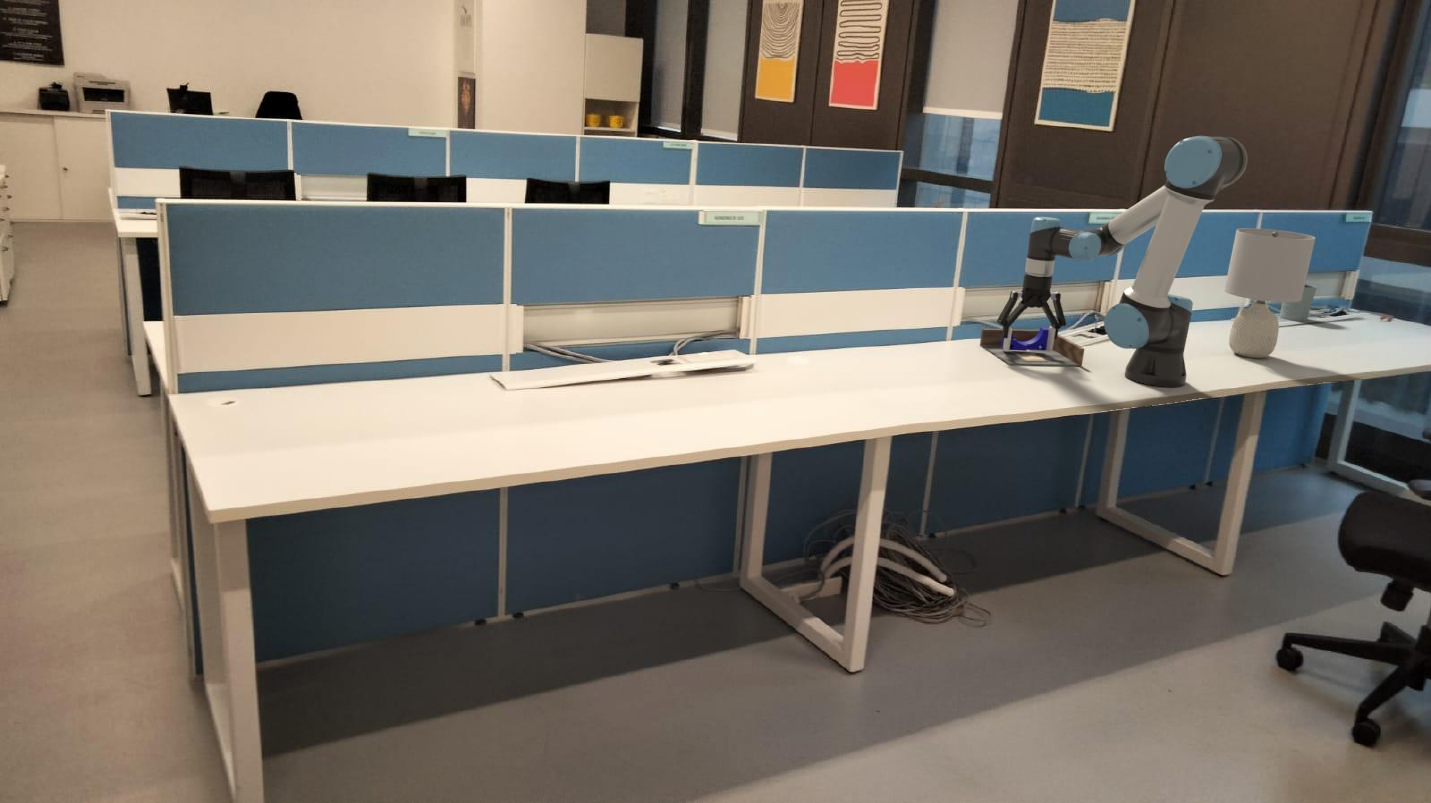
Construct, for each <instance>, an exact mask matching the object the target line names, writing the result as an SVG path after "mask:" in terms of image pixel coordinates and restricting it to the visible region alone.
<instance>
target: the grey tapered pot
mask: <svg viewBox="0 0 1431 803" xmlns="http://www.w3.org/2000/svg"><path fill="white" fill-rule="evenodd" d="M1317 288H1318V287H1317V285H1313V284H1309V283H1305V286H1304V291H1303V295H1302V300H1301V301H1299V302H1281V308H1280V314H1279V317H1280V318H1281V319H1283V320H1288V321H1295V322H1307V320H1308V319H1309V315H1310V310H1311V308H1312V305H1313V301H1314V297H1315V294H1316V292H1317Z"/></svg>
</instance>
